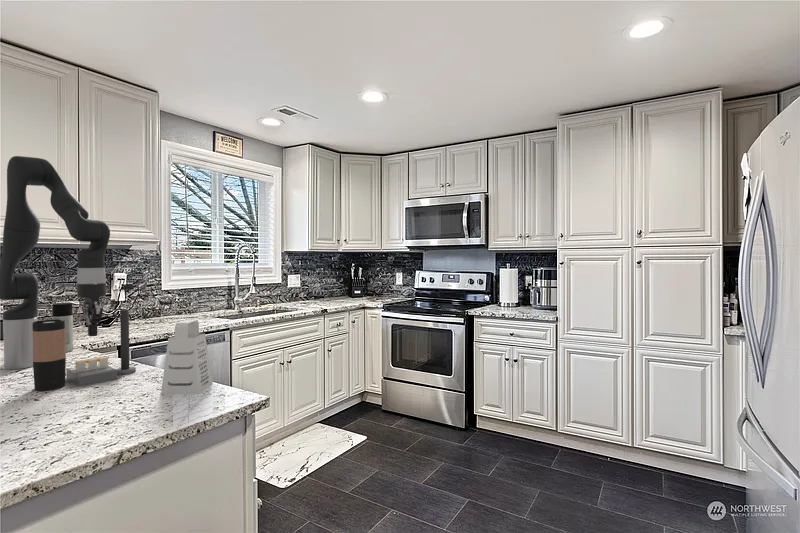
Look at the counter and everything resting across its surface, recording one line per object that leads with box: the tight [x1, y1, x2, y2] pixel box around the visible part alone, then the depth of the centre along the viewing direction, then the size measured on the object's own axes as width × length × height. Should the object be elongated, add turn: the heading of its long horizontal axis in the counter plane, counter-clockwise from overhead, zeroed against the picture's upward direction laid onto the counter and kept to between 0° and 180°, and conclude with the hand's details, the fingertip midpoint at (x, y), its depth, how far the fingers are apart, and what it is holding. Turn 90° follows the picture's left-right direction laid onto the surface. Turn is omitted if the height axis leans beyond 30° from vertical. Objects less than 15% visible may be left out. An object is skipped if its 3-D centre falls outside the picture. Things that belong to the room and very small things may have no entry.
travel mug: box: [32, 319, 67, 392], centre depth 128 cm, size 8×8×20 cm
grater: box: [160, 319, 214, 395], centre depth 128 cm, size 10×10×20 cm
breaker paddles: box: [75, 356, 109, 372], centre depth 137 cm, size 1×8×3 cm, turn 141°
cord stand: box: [115, 309, 137, 376], centre depth 145 cm, size 6×6×21 cm
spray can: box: [51, 302, 74, 353], centre depth 177 cm, size 7×7×20 cm
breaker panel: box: [66, 363, 118, 387], centre depth 138 cm, size 14×10×3 cm
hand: (92, 335), depth 138 cm, fingers closed
